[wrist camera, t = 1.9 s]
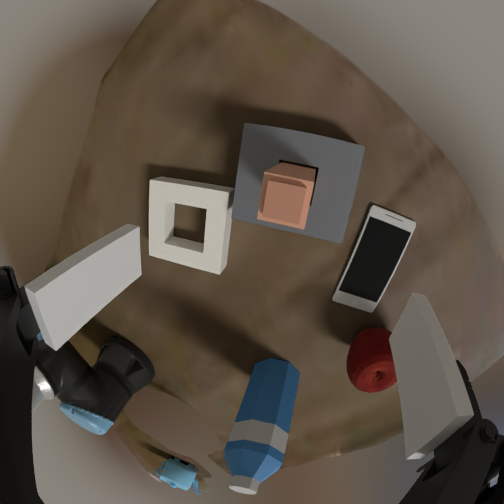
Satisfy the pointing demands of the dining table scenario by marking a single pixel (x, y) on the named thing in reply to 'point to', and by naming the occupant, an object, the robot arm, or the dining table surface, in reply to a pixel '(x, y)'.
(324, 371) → the dining table surface
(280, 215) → the plug
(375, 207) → the smartphone
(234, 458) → the water bottle
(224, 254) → the white square frame
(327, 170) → the grey flat block
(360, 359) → the apple
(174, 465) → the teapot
